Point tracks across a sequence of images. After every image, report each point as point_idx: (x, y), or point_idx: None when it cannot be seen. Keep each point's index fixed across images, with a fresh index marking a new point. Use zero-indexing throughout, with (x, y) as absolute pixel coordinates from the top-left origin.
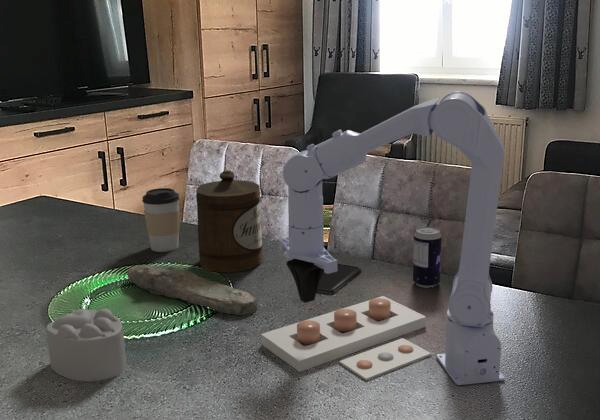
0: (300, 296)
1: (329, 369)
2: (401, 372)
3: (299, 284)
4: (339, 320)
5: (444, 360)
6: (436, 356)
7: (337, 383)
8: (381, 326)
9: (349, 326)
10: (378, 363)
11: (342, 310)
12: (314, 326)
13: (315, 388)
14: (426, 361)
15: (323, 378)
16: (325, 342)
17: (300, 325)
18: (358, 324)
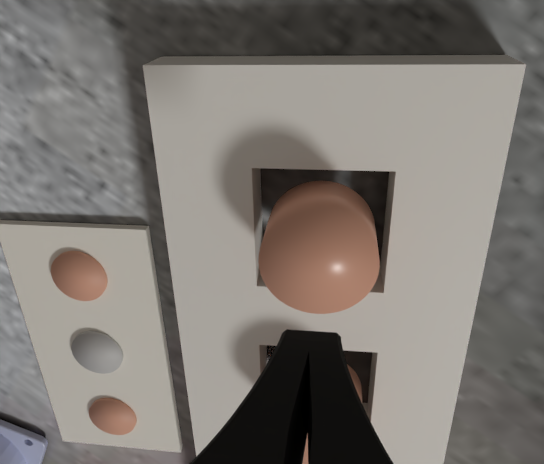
0: (323, 349)
1: (126, 170)
2: (11, 328)
3: (313, 425)
4: None
5: (6, 436)
6: (42, 438)
7: (20, 131)
8: None
9: None
10: (69, 312)
11: None
12: (289, 278)
13: (15, 36)
14: (42, 408)
15: (74, 110)
16: (235, 257)
17: (343, 236)
18: None
